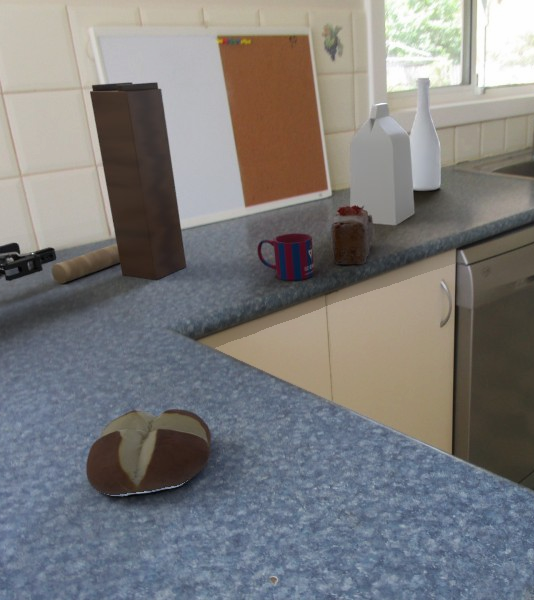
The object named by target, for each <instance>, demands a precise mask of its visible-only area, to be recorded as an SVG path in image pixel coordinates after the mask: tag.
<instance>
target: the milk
mask: <svg viewBox="0 0 534 600" xmlns="http://www.w3.org/2000/svg"><path fill="white" fill-rule="evenodd" d="M369 114H370V115H369V118H367V120H365V122H363V124H362V125H361V127H360V128H359V129H358V131H356V132H355V133H354V135H353V136H352V138H351V140H350V143H349V144H350V145H349V146H350V147H349V166H350V167H349V181H350V182H349V183H350V184H349V191H350V192H349V194H350V195H349V199H350V201H349V203H350V204H349V207H351V206H354V205H356V206H357V205H358V207H361V208H362V206H363V205H364V208H363V210H366V211H367V212H368V216H369V215H372V219H373V225H375V224H376V225H387V226H397V225H399V224H401V223H402V222H404V221H405V220H407V219H408V218H410V217H412V216H413V215H415V200H414V199H415V198H414V190H413V180H412V164H411V148H410V138H409V136H410V134H408V132H407V131H406V130H405V128H403V127H402V126H401V125H400V123H398V122H397V121H396V120H395V119H394V118H393V117H392V116H391V115H390V109H389V103H388V102H381V103H378V104H377V103H376V104H372V105H371V108H370V113H369Z"/></svg>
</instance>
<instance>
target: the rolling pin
mask: <svg viewBox="0 0 534 600" xmlns="http://www.w3.org/2000/svg"><path fill="white" fill-rule="evenodd" d="M119 264H120V259H119V253H118V248H117V243H114V244H111V245H108V246H105V247H103V248H99V249H96V250H93V251H90V252H87V253H84V254H82V255H78V256H75V257H72V258H69V259H66V260H64V261H60V262H57V263H54V264H53V265H52V267H51V275H52V277H53V279H54V280H55V282H57V283H58V284H66V283H69V282H71V281H74V280H77V279H80V278H82V277H85V276H88V275H91V274H93V273H97V272H98V271H101V270H104V269H106V268H110V267H112V266H114V265H119Z"/></svg>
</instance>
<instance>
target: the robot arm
mask: <svg viewBox="0 0 534 600" xmlns="http://www.w3.org/2000/svg"><path fill="white" fill-rule="evenodd" d="M10 259H12V260H13V261H10ZM56 259H57V254H56V250H55V248H54V247H52V246H51V247H50V246H49V247H45V248H42V249H38V250H35V251H31V252H25V253H21V249H20V245H19V243H18V242H10V243H6V244H3V245H0V280H1V279H3V278H5V281H9V282H11V281H13V280H17V279H20V278H23V277H27V276H29V275H32V274H36V273H39V272H42V271H43V270H44V269H43V265H45V264H48V263H51V262H54V261H56Z"/></svg>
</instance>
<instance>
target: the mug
mask: <svg viewBox="0 0 534 600" xmlns="http://www.w3.org/2000/svg"><path fill="white" fill-rule="evenodd" d="M264 243H265V244H270V245H271V246H273V253H274V263H275V264H272V263H270V262H268V261H267V260H266V259H265V258H264V256H263V253H262V246H263V244H264ZM257 257H258V259H259V261H260V262H261V263H262V264H263V265H264V266H266V267H268V268H270V269H273V270H275V273H276V274H275V275H276V277H277V279H279V280H283V281H287V282H288V281H290V282H291V281H292V282H295V281H302V280H307V279H309V278H311V277H313V276H314V275H315V264H314V250H313V237H312V236H311V235H310V234H307V233H300V232H299V233H297V232H296V233H284V234H280V235H277V236H274V238H273V240H272V239H263V240H261V241H260V242H259V243H258V245H257Z"/></svg>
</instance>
